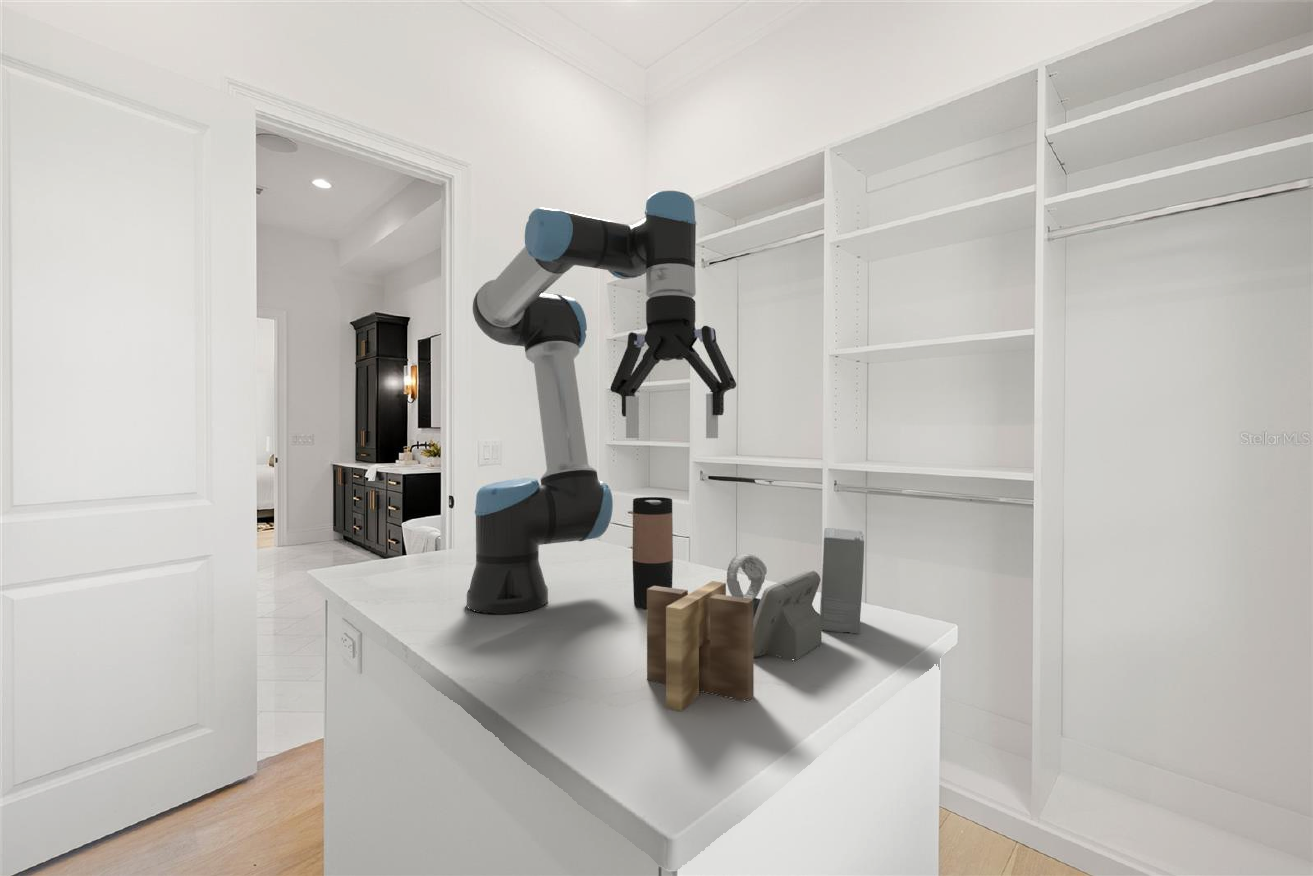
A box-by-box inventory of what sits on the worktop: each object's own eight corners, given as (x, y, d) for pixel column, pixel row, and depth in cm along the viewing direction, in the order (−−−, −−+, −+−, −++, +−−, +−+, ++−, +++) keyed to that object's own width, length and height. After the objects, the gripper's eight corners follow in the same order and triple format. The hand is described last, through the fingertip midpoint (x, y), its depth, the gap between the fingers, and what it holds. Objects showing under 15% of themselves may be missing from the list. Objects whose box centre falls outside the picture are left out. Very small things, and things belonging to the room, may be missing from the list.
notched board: (681, 711, 71) (681, 609, 71) (666, 707, 72) (666, 606, 72) (726, 670, 84) (725, 582, 84) (712, 667, 85) (712, 581, 85)
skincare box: (819, 616, 108) (819, 527, 108) (862, 620, 106) (862, 528, 106) (819, 631, 100) (819, 535, 100) (865, 635, 98) (865, 537, 98)
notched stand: (647, 679, 81) (646, 589, 80) (654, 674, 82) (654, 585, 82) (748, 701, 74) (748, 603, 74) (753, 695, 76) (753, 599, 76)
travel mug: (648, 597, 121) (648, 496, 121) (680, 603, 116) (680, 498, 116) (624, 606, 114) (624, 499, 114) (657, 613, 110) (657, 502, 110)
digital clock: (795, 629, 101) (795, 565, 101) (842, 643, 95) (842, 574, 94) (727, 651, 91) (727, 580, 91) (775, 669, 84) (775, 592, 84)
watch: (771, 615, 109) (771, 553, 108) (743, 625, 103) (743, 560, 103) (746, 609, 113) (746, 549, 112) (718, 618, 107) (718, 555, 107)
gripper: (588, 302, 95) (589, 438, 96) (739, 283, 84) (739, 438, 84) (614, 310, 102) (614, 437, 102) (757, 294, 90) (757, 438, 90)
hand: (670, 438), depth 93 cm, fingers open, 13 cm apart
